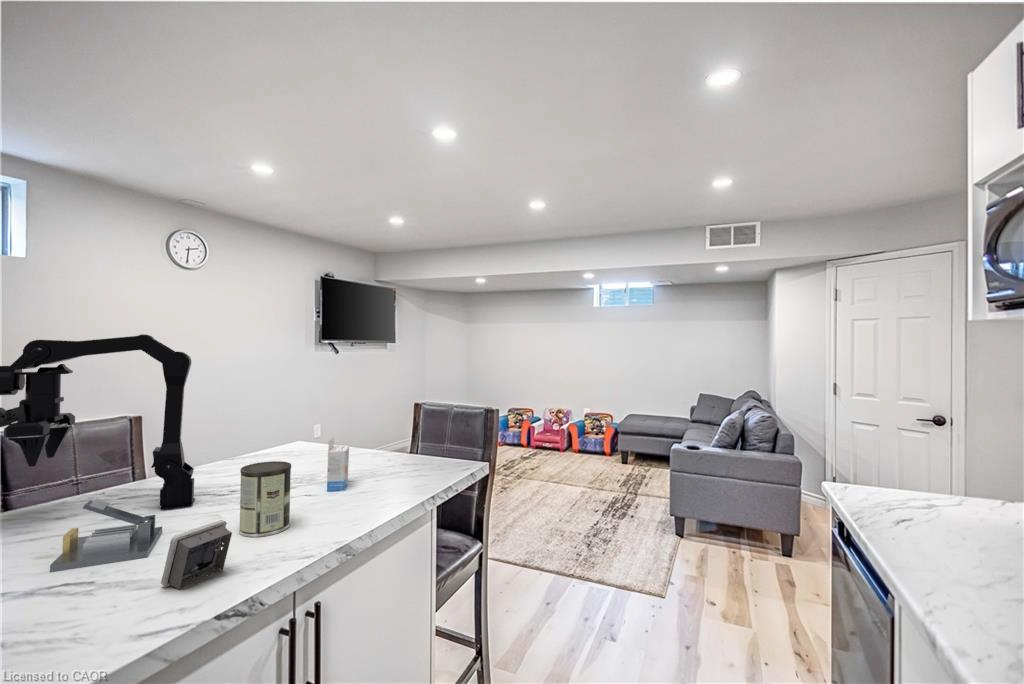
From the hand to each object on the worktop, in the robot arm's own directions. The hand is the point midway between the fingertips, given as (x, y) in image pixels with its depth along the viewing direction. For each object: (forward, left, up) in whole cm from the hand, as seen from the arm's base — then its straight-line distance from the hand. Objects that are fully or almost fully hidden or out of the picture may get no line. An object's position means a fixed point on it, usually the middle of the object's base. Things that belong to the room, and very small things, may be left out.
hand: (41, 461), depth 106 cm
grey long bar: (-20, +25, -8) cm, 33 cm away
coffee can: (-46, +25, -14) cm, 54 cm away
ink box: (-65, -2, -14) cm, 67 cm away
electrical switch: (-36, +46, -14) cm, 60 cm away
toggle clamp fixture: (-19, +25, -14) cm, 34 cm away
